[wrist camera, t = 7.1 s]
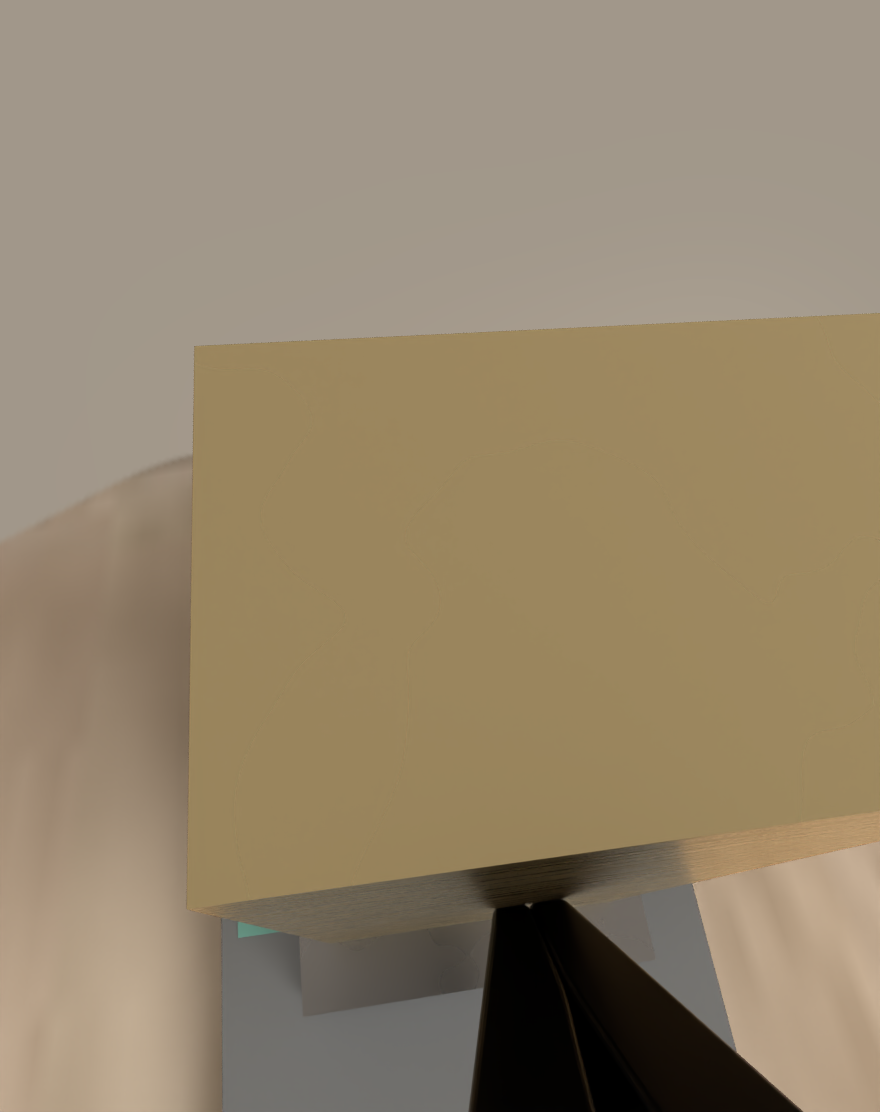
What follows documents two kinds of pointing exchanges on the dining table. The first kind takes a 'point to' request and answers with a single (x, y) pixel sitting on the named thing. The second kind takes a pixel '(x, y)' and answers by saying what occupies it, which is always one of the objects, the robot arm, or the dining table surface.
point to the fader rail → (399, 1024)
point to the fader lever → (525, 630)
